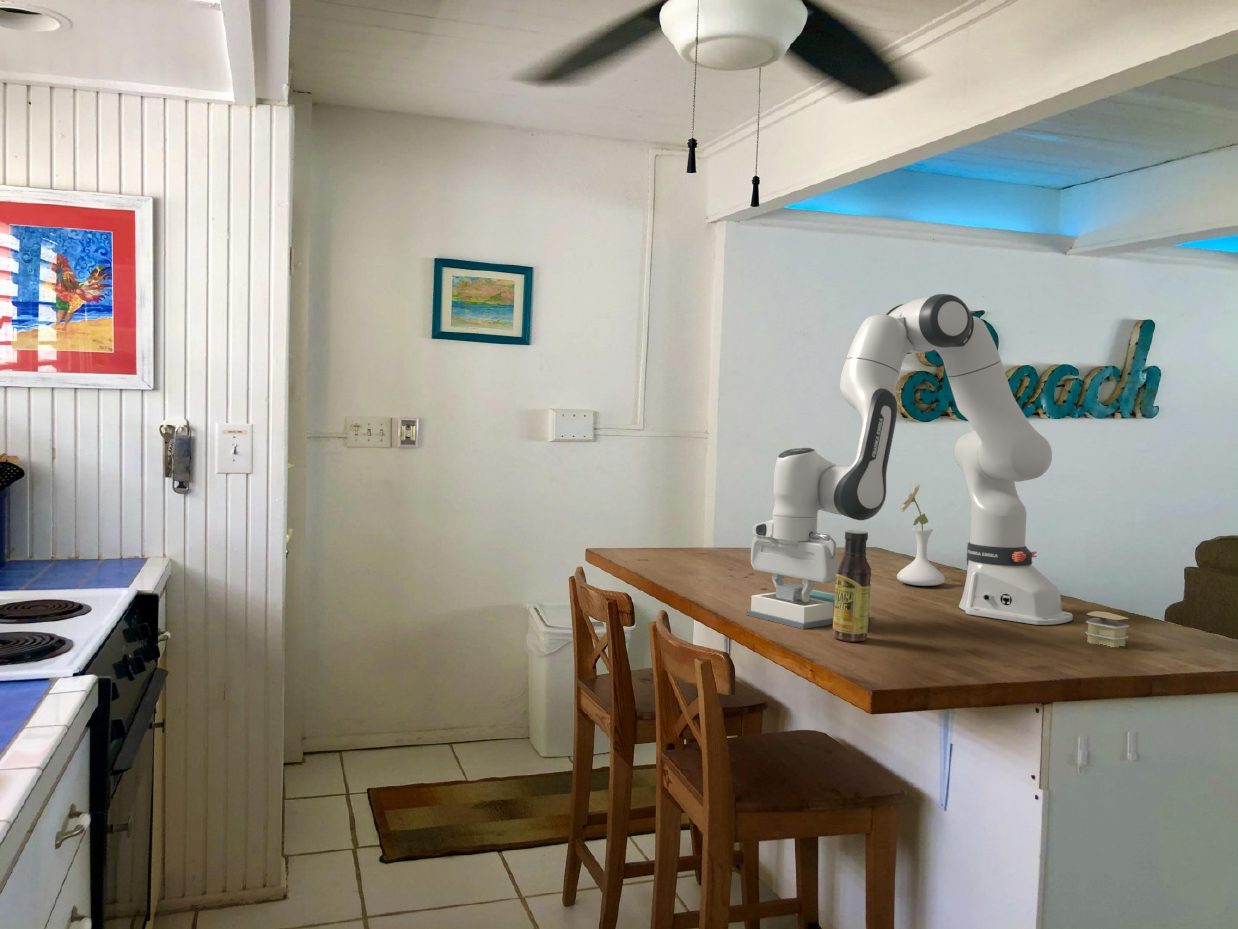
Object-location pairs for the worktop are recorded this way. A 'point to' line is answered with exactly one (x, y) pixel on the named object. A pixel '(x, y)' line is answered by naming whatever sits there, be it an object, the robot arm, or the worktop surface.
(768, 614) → the holder
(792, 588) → the steel block
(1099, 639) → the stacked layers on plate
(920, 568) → the flower in vase
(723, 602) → the worktop surface
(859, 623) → the sauce bottle
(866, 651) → the worktop surface
